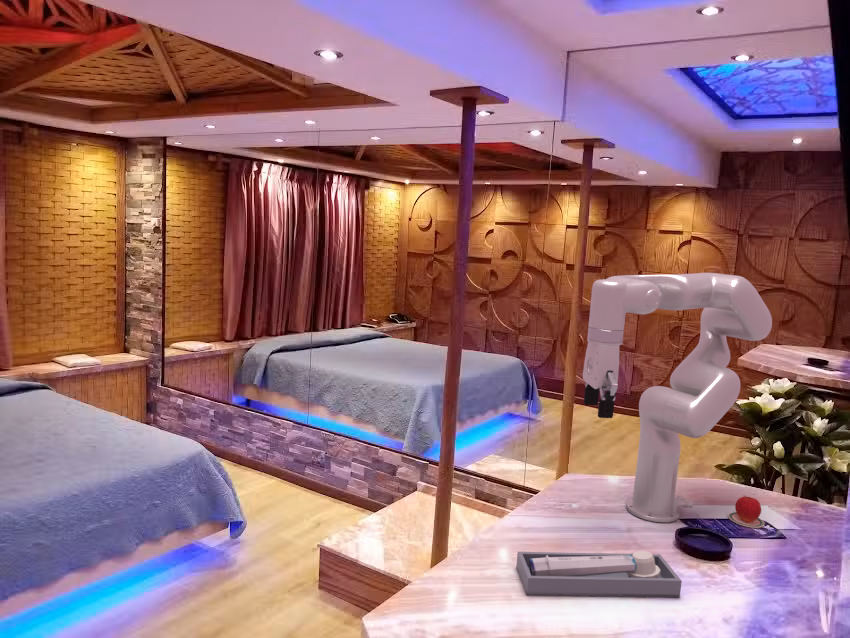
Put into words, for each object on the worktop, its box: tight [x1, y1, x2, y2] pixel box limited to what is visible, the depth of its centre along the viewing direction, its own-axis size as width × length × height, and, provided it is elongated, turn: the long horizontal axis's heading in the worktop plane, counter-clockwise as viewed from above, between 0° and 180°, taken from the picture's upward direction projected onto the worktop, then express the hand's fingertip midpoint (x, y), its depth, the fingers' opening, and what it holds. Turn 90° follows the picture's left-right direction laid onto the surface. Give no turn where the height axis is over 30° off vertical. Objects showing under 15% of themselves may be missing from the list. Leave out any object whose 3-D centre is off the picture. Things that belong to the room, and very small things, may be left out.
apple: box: [727, 495, 765, 529], centre depth 156 cm, size 8×8×6 cm
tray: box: [515, 551, 683, 599], centre depth 125 cm, size 30×10×4 cm, turn 94°
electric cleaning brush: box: [529, 550, 660, 578], centre depth 124 cm, size 5×7×25 cm
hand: (597, 410), depth 143 cm, fingers open, 9 cm apart
